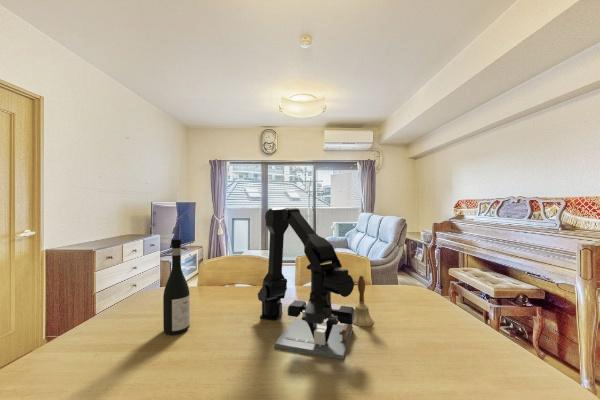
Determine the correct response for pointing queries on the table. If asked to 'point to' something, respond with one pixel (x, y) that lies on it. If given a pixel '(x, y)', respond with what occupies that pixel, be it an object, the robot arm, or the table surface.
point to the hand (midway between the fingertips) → (321, 341)
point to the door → (345, 332)
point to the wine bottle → (176, 296)
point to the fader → (320, 335)
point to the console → (303, 341)
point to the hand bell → (362, 307)
